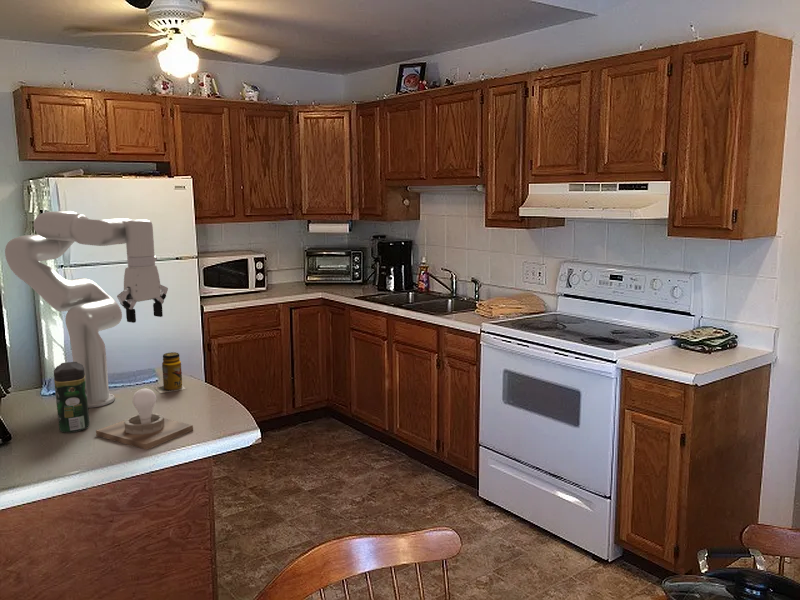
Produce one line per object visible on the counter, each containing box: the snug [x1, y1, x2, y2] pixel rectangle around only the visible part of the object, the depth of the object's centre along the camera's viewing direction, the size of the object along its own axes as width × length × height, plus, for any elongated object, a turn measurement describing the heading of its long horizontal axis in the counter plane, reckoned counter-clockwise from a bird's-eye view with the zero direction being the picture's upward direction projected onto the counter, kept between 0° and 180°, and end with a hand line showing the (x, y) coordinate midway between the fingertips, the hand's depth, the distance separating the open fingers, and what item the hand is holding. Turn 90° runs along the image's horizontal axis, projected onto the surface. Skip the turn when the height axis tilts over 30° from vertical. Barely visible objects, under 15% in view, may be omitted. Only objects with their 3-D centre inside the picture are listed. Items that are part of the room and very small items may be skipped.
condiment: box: [154, 351, 187, 394], centre depth 225 cm, size 7×8×12 cm
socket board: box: [95, 412, 194, 450], centre depth 186 cm, size 20×16×4 cm
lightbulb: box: [132, 387, 157, 424], centre depth 186 cm, size 6×6×11 cm
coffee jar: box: [53, 361, 90, 433], centre depth 189 cm, size 10×8×19 cm
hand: (145, 319), depth 200 cm, fingers open, 9 cm apart
